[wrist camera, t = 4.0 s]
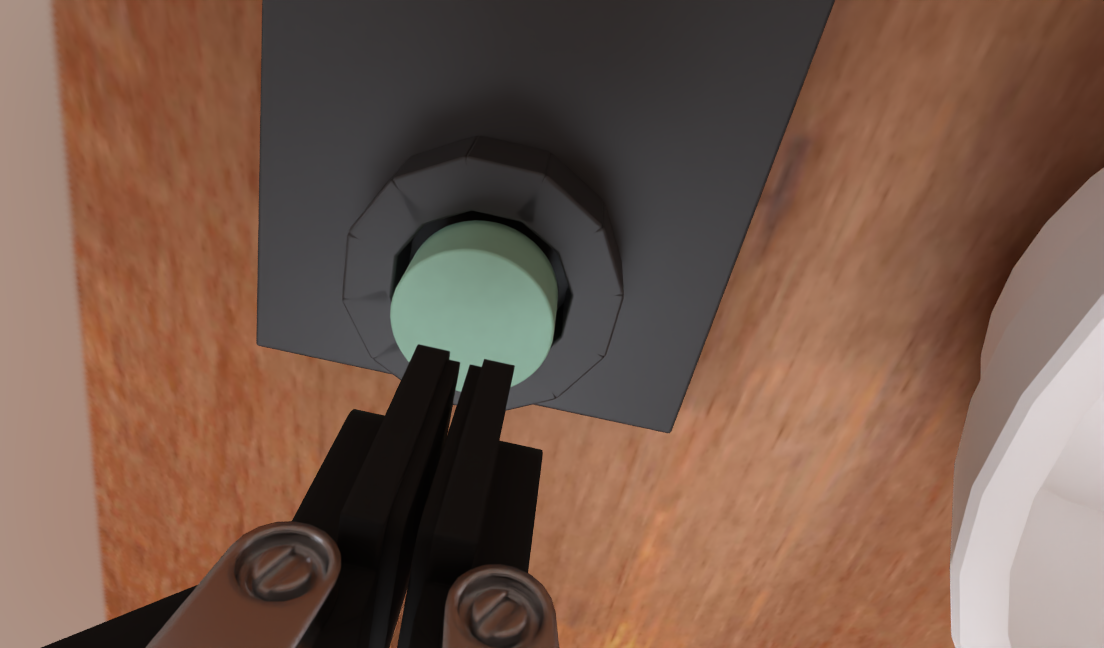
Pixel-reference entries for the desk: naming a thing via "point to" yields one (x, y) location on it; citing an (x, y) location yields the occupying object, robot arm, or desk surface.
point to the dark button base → (524, 170)
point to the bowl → (1037, 450)
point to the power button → (478, 298)
